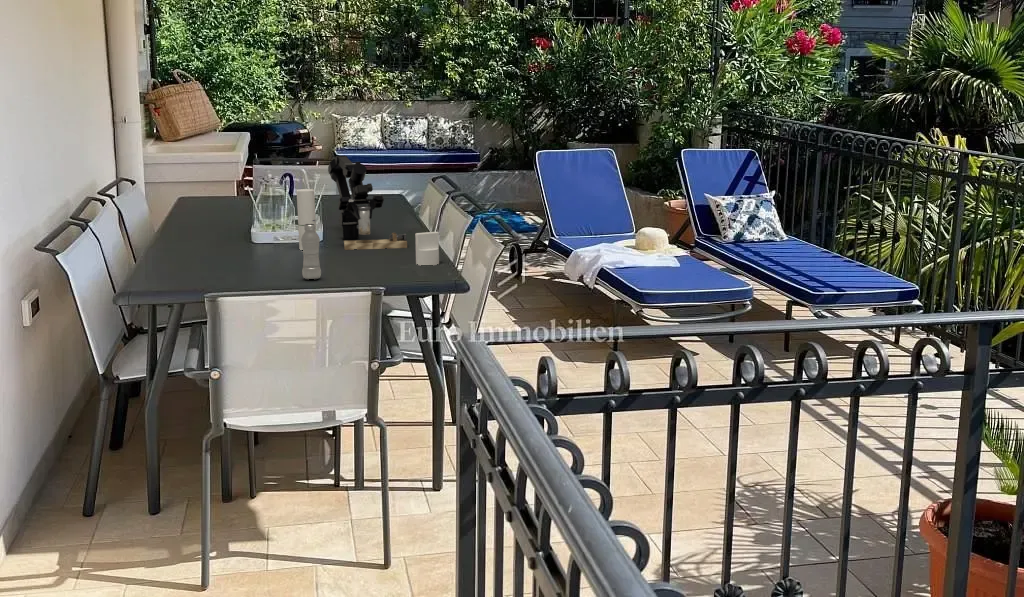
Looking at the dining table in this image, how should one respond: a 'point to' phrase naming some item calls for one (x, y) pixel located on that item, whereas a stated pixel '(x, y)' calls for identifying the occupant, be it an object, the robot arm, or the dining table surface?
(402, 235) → the lock pin
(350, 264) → the dining table surface
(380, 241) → the dock
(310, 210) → the cylindrical container
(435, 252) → the base with upright slab
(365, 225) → the grey metallic cylinder
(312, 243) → the plastic bottle
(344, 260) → the dining table surface
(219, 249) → the dining table surface
